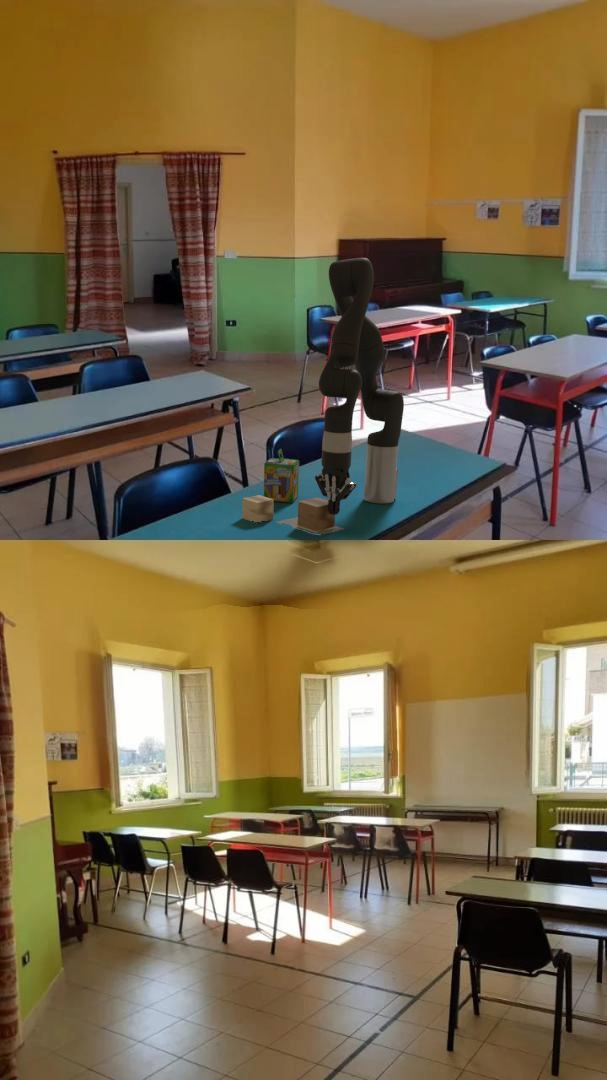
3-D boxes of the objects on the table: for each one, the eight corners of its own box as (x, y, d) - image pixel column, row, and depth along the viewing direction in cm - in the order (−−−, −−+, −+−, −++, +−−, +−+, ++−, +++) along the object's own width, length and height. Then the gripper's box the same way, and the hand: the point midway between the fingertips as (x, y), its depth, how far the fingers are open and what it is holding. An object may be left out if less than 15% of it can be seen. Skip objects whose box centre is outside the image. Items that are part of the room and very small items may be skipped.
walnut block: (315, 522, 227) (316, 497, 225) (334, 528, 222) (335, 502, 220) (297, 526, 222) (298, 501, 220) (316, 533, 218) (317, 507, 215)
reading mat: (303, 516, 233) (303, 515, 233) (344, 529, 222) (344, 528, 222) (274, 522, 226) (274, 522, 226) (316, 536, 215) (316, 536, 215)
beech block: (258, 515, 232) (259, 495, 230) (273, 520, 228) (273, 499, 226) (242, 519, 228) (242, 498, 226) (256, 524, 224) (257, 502, 222)
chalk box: (292, 503, 246) (294, 454, 241) (262, 501, 247) (264, 451, 243) (299, 496, 255) (301, 448, 250) (270, 493, 256) (271, 446, 252)
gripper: (366, 451, 210) (362, 517, 215) (328, 442, 219) (325, 506, 224) (346, 454, 205) (342, 522, 210) (308, 445, 213) (305, 510, 219)
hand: (333, 513), depth 217 cm, fingers closed
